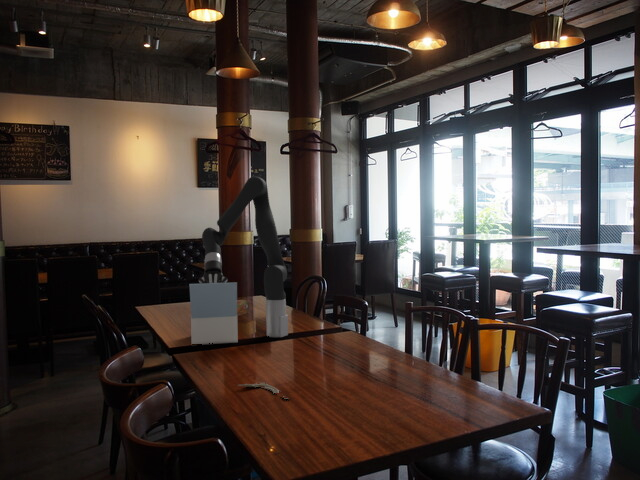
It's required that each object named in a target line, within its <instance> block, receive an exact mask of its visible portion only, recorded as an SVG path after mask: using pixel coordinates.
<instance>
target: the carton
mask: <svg viewBox="0 0 640 480" xmlns="http://www.w3.org/2000/svg"><path fill="white" fill-rule="evenodd" d="M238 324H239V323H238V316H229V317H208V318H191V317H190V330H191V331H190V332H191V334H190V335H191V337H190V338H191V339H190V340H191V343H190V344H191V345H192V344H202V345H214V344H215V345H216V344H217V345H218V344H230V343H231V344H235V343H236V344H237V343H238V342H239V340H238V339H239V337H238V336H239V334H238V326H239V325H238ZM209 343H210V344H209ZM212 343H213V344H212Z"/></svg>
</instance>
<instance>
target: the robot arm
mask: <svg viewBox="0 0 640 480" xmlns="http://www.w3.org/2000/svg"><path fill="white" fill-rule="evenodd" d="M269 198H270V197H269V190H268V184H267V182H266V181H265V180H264V179H263V178H261V177H259V176H254V175H253V176H250V178H248V179H247V180H246V182H245V183H244V184H243V187H242V188H241V190H240V192H239V193H238V195H237V196H236V198H235V199H234V200H233V202H232V203H230V206H229V207H228V208H227V209H226V210H225V211H224V212H223V214H222V215H221V216H220V217H219V218H218V220H217V221H216V225H217V226H218V227H219V228H220V230H219V231H217V230H216V229H215V228H213V227H207V228H205V229H204V230H203V231H202V235H201V239H202V244H203V247H204V250H205V253H204V254H205V255H204V256H205V258H204V274H203V276H202V277H199V278H198V282H199V283H198V284H205V283H228V277H227V276H224V275H223V270H222V269H223V261H222V250H221V246H223V244H224V243H225V240H226V238H227V236H228V234H229V232H230V230H231V229H232V227H234V225H235V224H236V223H237V221H238V220H239V219H240V217H241V216H242V214H243V213H244V210H245V209H246V208H247V207H248V206H249V204H250V203H251V202H252V203H253V205H254V213H255V214H254V215H255V216H254V223H255V230H256V235H257V238H258V241H259V244H260V245H261V247H262V249H263V252H264V253H265V256H266V259H267V268H265V270H264V273H263V286H264V294H265V303H266V304H265V310H266V312H265V313H266V314H265V315H266V317H265V318H266V321H265V322H266V336H267V337H268V336H269V337H268V338H283V337H286V336H288V335H289V316H288V314H287V301H286V298H287V296H286V295H287V294H286V292H285V290H284V289H285V287H284V282H285V281H286V280H287V278H288V271H287V270H288V269H287V267H286V264H285V262H284V258H283V256H282V252H281V251H282V249H281V245H280V241H279V236H278V235H279V234H278V231H277V226H276V222H275V218H274V215H273V211H272V208H271V206H270V199H269Z"/></svg>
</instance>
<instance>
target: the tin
mask: <svg viewBox="0 0 640 480" xmlns="http://www.w3.org/2000/svg"><path fill="white" fill-rule="evenodd" d="M249 309H250V303H249V301H248V300H246V299H239V300H238V299H237V317H238V316H243V315H246V314H247V313H248V312H249V311H250V310H249Z"/></svg>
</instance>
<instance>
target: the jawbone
mask: <svg viewBox="0 0 640 480" xmlns="http://www.w3.org/2000/svg"><path fill="white" fill-rule="evenodd" d="M257 383H258V382H255V383H251V384H250V383H245V384H237V387H244V388H245V387H249V388H256V387H263V388H265V389H268V390H270V391H272V392H273V393H272V392H271V393H272V394H273V395H275V394H274V393H279V391H280V390H279V389H278V388H276V387H275V386H273V385H270V384H268V383H267V382H259V383H260V384H257ZM265 383H266V384H265ZM256 389H257V388H256ZM265 389H264V390H265ZM268 390H267V391H268ZM270 391H269V392H270ZM283 397H285V396H284V395H283ZM284 399H288V400H289V399H290V398H289V397H287V398H284ZM284 399H283V400H284Z"/></svg>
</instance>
